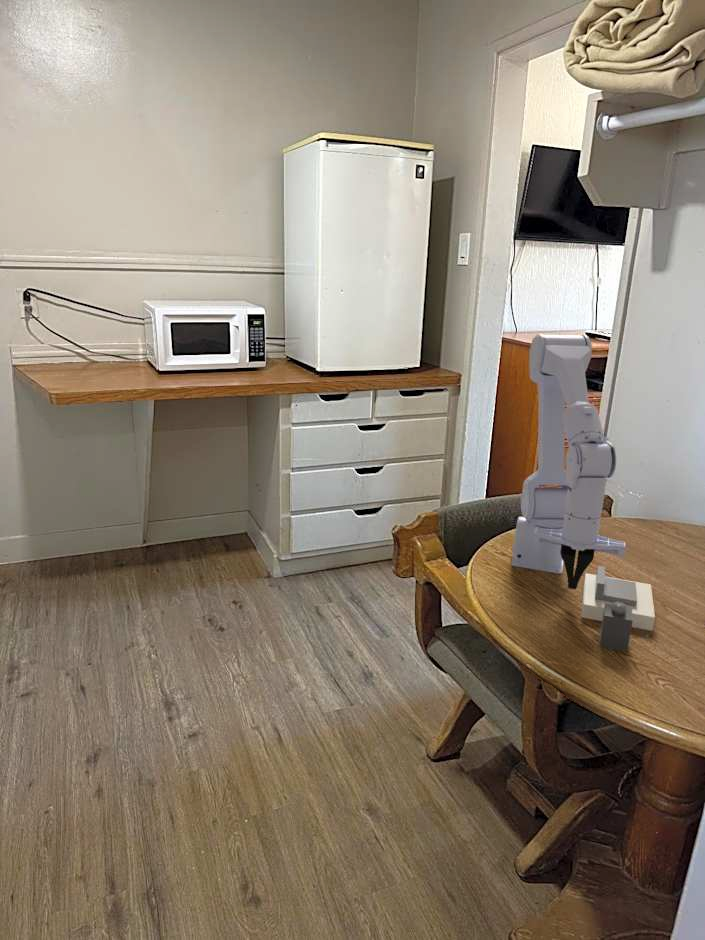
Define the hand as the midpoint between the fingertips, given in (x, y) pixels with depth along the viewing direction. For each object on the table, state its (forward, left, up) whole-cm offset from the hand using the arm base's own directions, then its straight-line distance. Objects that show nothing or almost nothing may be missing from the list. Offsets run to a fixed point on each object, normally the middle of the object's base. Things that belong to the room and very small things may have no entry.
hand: (572, 586), depth 116 cm
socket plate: (+8, +2, -3) cm, 8 cm away
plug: (+7, -10, -3) cm, 13 cm away
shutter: (+7, +2, -1) cm, 7 cm away
